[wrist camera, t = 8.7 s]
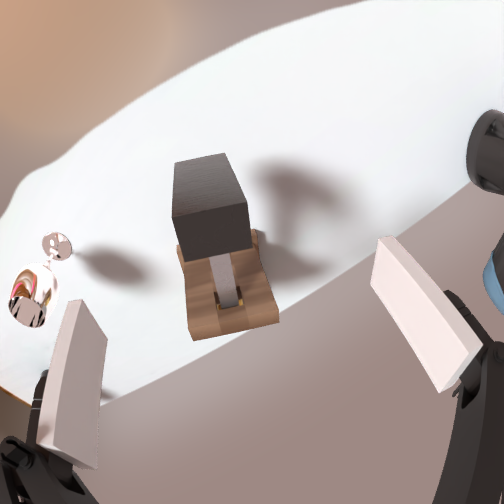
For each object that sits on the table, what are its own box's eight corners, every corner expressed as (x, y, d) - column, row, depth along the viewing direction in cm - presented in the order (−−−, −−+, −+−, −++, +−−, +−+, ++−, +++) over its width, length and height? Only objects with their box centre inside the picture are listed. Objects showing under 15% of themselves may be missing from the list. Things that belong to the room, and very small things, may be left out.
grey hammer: (174, 163, 22) (171, 217, 15) (224, 152, 23) (246, 201, 16) (210, 302, 32) (222, 374, 25) (247, 294, 32) (267, 364, 25)
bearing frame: (176, 245, 37) (179, 323, 27) (254, 228, 38) (284, 300, 28) (194, 300, 43) (203, 376, 33) (261, 286, 44) (286, 357, 34)
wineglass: (74, 268, 36) (52, 336, 26) (38, 259, 33) (8, 323, 24) (77, 232, 33) (48, 299, 23) (38, 223, 31) (0, 285, 21)
